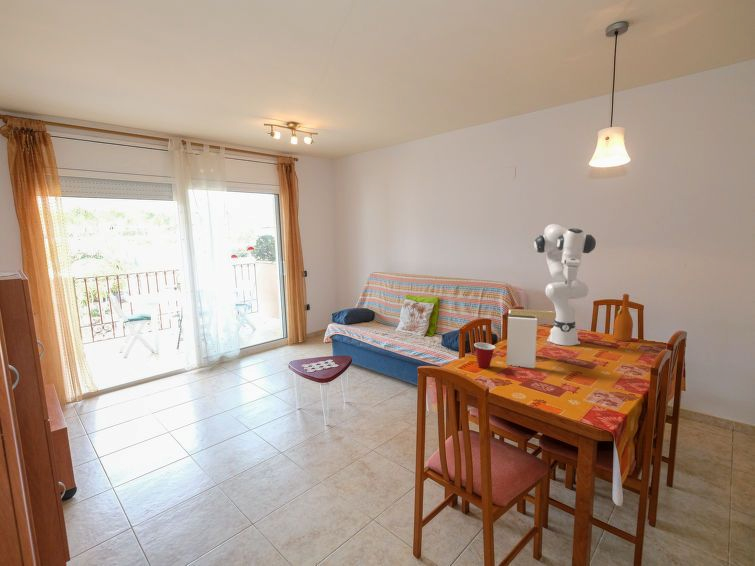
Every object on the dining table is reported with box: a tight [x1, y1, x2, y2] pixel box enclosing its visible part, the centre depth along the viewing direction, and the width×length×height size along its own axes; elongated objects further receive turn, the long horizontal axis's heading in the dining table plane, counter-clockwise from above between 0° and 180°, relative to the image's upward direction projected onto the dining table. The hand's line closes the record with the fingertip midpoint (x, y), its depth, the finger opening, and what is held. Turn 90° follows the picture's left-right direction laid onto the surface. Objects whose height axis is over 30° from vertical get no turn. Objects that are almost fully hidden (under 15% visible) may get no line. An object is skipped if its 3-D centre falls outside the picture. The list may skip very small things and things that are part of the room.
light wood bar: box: [510, 308, 556, 319], centre depth 188 cm, size 3×22×3 cm, turn 69°
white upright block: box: [505, 309, 538, 369], centre depth 197 cm, size 21×14×26 cm, turn 159°
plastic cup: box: [473, 342, 496, 370], centre depth 189 cm, size 11×11×12 cm
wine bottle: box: [613, 293, 634, 342], centre depth 229 cm, size 10×10×30 cm
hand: (567, 286), depth 190 cm, fingers open, 8 cm apart
